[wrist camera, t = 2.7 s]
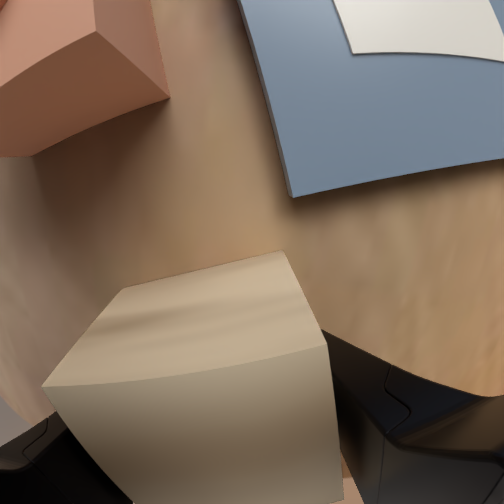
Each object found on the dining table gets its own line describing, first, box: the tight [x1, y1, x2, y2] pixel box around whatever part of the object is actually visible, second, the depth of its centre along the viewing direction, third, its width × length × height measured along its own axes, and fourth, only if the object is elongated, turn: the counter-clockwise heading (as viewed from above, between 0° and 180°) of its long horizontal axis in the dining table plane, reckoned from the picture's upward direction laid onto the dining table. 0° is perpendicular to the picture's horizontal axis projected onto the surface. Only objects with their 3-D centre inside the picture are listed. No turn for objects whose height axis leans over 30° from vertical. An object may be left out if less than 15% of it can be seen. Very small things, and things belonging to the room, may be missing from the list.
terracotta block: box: [0, 0, 170, 157], centre depth 5 cm, size 5×5×6 cm
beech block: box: [41, 250, 344, 504], centre depth 7 cm, size 5×5×5 cm
